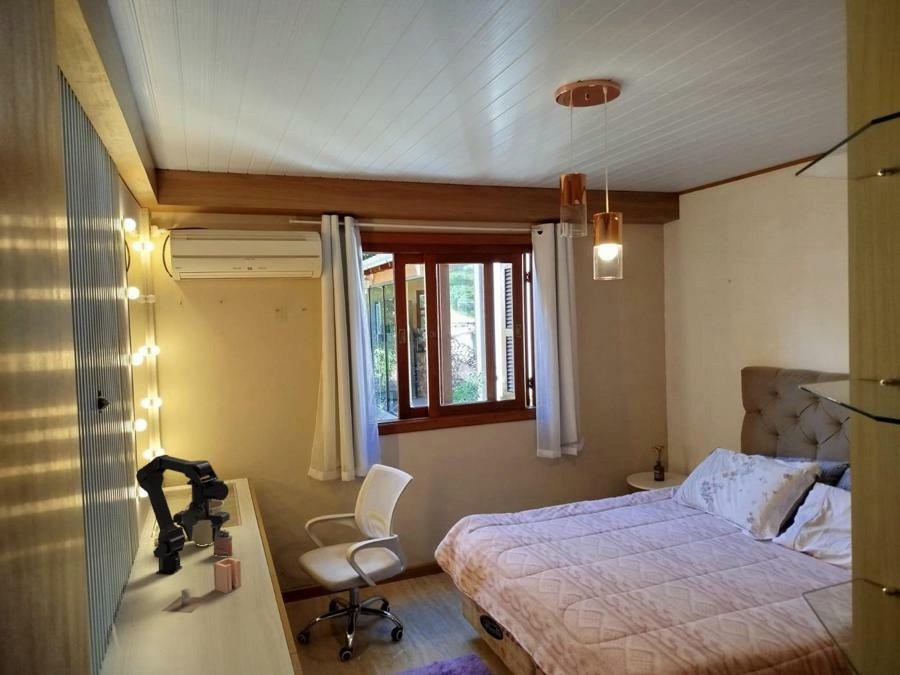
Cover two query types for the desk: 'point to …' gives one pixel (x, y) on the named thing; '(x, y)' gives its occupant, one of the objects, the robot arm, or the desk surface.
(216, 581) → the c link
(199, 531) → the plant pot
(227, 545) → the perfume bottle
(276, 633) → the desk surface
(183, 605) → the stand
